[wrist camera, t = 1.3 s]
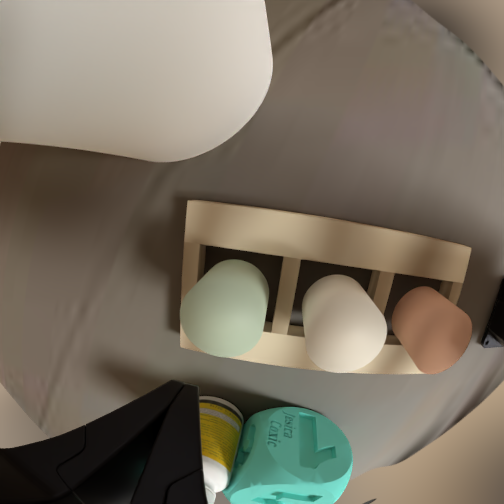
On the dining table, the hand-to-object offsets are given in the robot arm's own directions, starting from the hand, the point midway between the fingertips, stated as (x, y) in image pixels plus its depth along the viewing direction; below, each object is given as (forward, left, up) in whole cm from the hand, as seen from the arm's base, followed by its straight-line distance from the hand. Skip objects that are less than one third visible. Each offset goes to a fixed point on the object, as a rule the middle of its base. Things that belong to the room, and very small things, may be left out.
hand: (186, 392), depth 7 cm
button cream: (-6, 0, -9) cm, 11 cm away
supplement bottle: (+1, +13, -11) cm, 17 cm away
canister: (+7, -14, -11) cm, 19 cm away
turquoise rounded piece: (-6, +14, -11) cm, 19 cm away
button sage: (0, 0, -9) cm, 9 cm away
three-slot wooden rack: (-6, 0, -11) cm, 12 cm away
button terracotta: (-12, 0, -9) cm, 15 cm away
